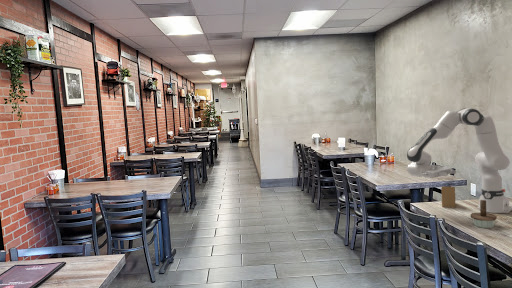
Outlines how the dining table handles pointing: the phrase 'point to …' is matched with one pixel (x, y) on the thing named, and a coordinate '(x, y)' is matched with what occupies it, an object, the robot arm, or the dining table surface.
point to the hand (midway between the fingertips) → (451, 173)
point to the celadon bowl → (484, 223)
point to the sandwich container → (448, 197)
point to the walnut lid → (483, 213)
